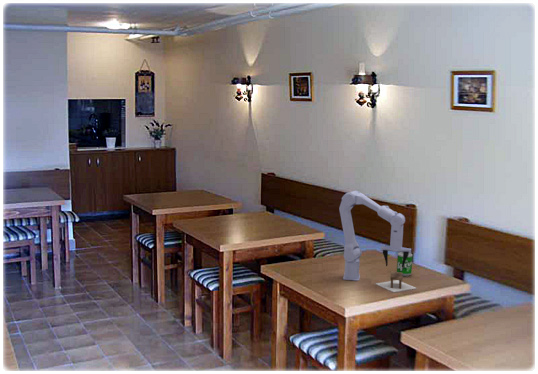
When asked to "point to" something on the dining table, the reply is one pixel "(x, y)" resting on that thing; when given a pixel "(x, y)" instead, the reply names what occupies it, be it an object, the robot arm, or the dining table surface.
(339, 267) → the dining table surface
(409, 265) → the soda can
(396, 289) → the mat
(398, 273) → the stool
